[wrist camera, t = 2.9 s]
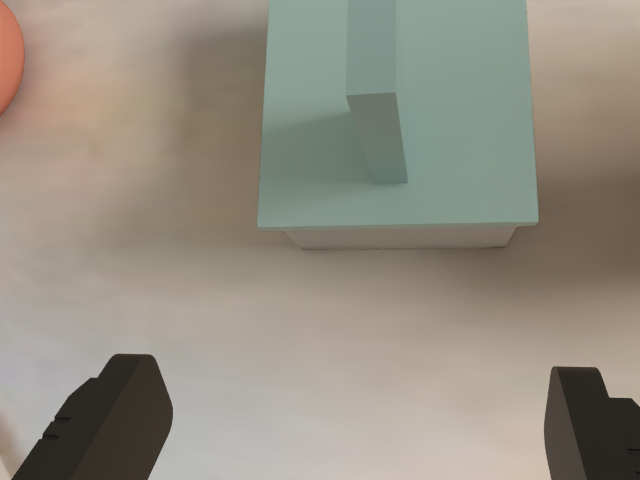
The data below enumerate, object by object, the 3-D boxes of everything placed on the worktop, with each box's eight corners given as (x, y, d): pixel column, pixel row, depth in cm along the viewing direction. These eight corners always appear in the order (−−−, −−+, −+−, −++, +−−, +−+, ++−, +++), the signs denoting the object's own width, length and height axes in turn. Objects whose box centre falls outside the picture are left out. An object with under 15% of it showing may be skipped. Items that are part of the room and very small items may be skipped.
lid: (281, -48, 33) (211, -240, 22) (514, -76, 30) (557, -306, 20) (267, 235, 29) (175, 161, 19) (532, 231, 27) (594, 142, 16)
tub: (311, 20, 38) (285, -54, 32) (494, 3, 36) (508, -81, 29) (302, 249, 35) (271, 221, 28) (505, 247, 32) (523, 215, 26)
